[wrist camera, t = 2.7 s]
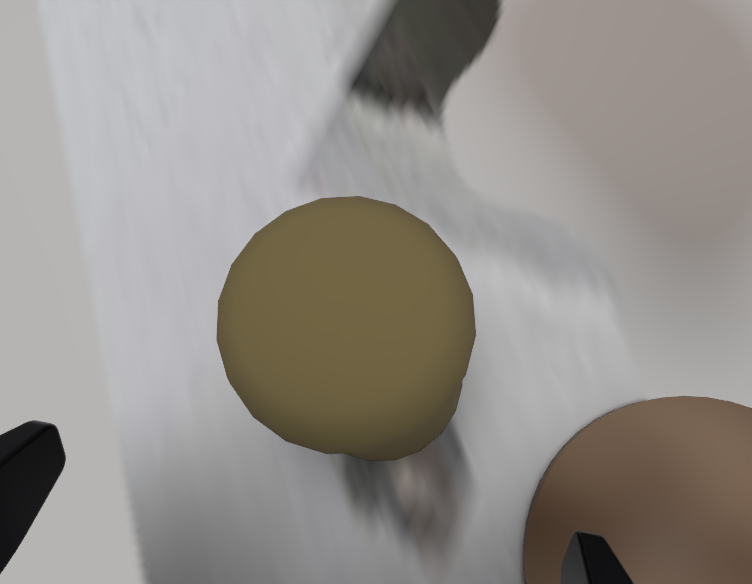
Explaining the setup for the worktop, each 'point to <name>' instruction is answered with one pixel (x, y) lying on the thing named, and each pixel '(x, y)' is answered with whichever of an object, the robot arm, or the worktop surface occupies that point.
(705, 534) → the walnut plate
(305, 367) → the cork
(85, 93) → the worktop surface
